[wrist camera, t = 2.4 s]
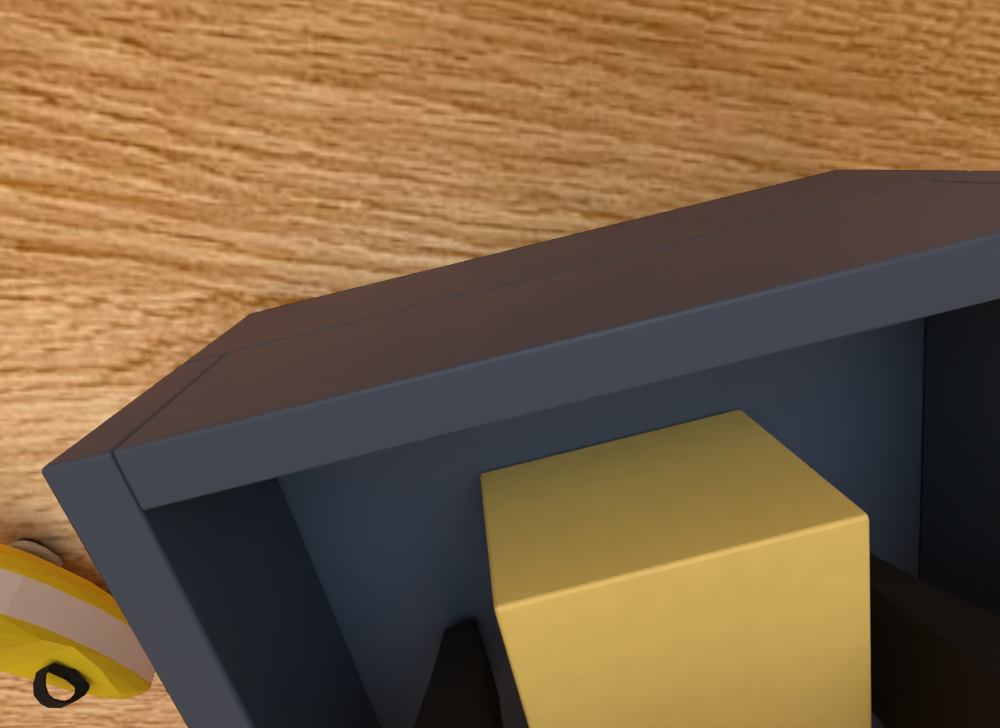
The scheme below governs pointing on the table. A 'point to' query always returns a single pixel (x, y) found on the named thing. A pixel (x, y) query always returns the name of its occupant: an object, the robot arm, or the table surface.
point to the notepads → (681, 584)
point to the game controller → (64, 630)
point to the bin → (538, 429)
